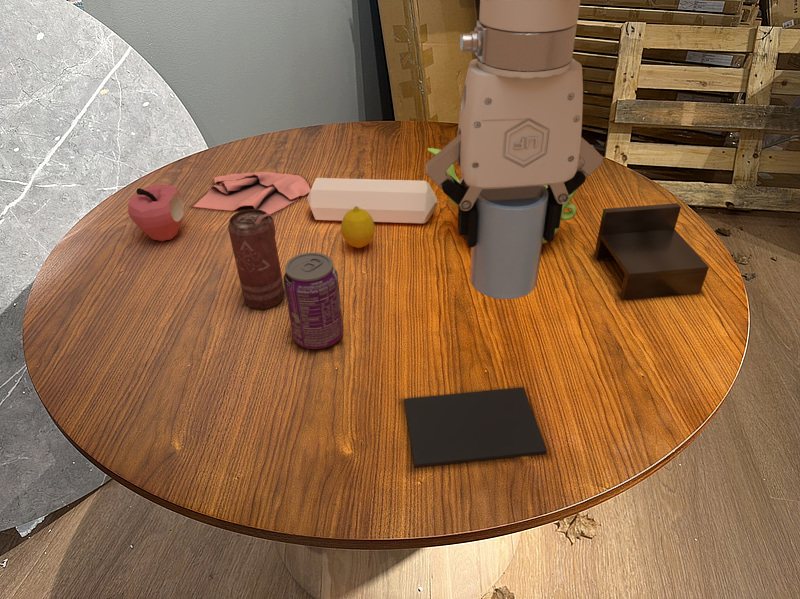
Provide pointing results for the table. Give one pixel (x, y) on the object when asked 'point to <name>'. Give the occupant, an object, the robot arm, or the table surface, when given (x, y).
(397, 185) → the crystal
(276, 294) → the can
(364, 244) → the fruit
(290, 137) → the table surface
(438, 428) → the mat
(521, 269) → the blue cup
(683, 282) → the shelf
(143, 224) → the apple
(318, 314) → the beverage can
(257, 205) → the cloth
